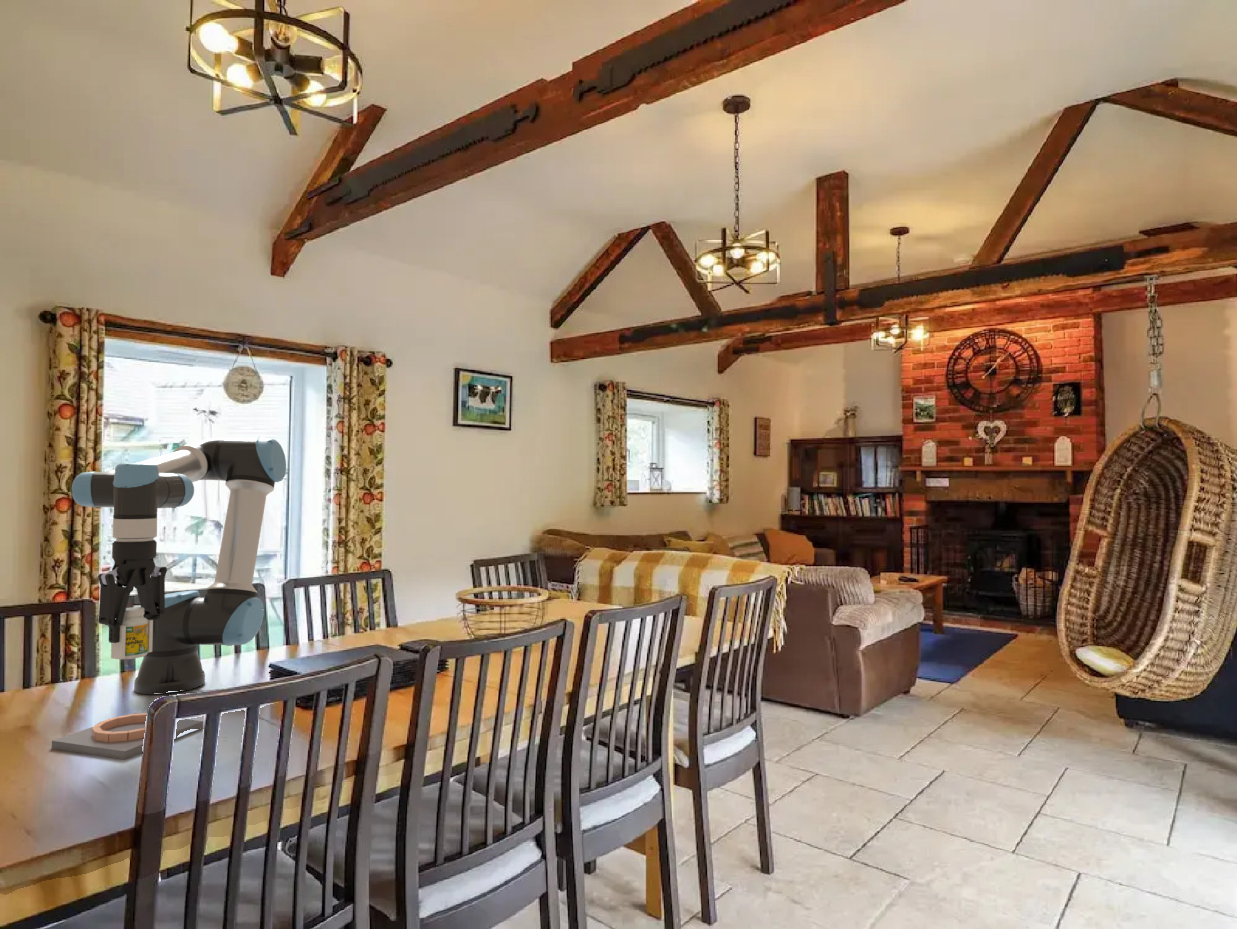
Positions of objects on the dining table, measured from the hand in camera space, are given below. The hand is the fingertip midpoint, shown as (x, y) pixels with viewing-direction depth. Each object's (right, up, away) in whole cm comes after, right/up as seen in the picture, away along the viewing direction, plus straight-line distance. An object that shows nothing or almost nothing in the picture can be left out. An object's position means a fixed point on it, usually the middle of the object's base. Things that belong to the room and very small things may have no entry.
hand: (131, 654), depth 150 cm
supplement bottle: (0, -1, 0) cm, 1 cm away
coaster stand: (0, -17, 0) cm, 17 cm away
